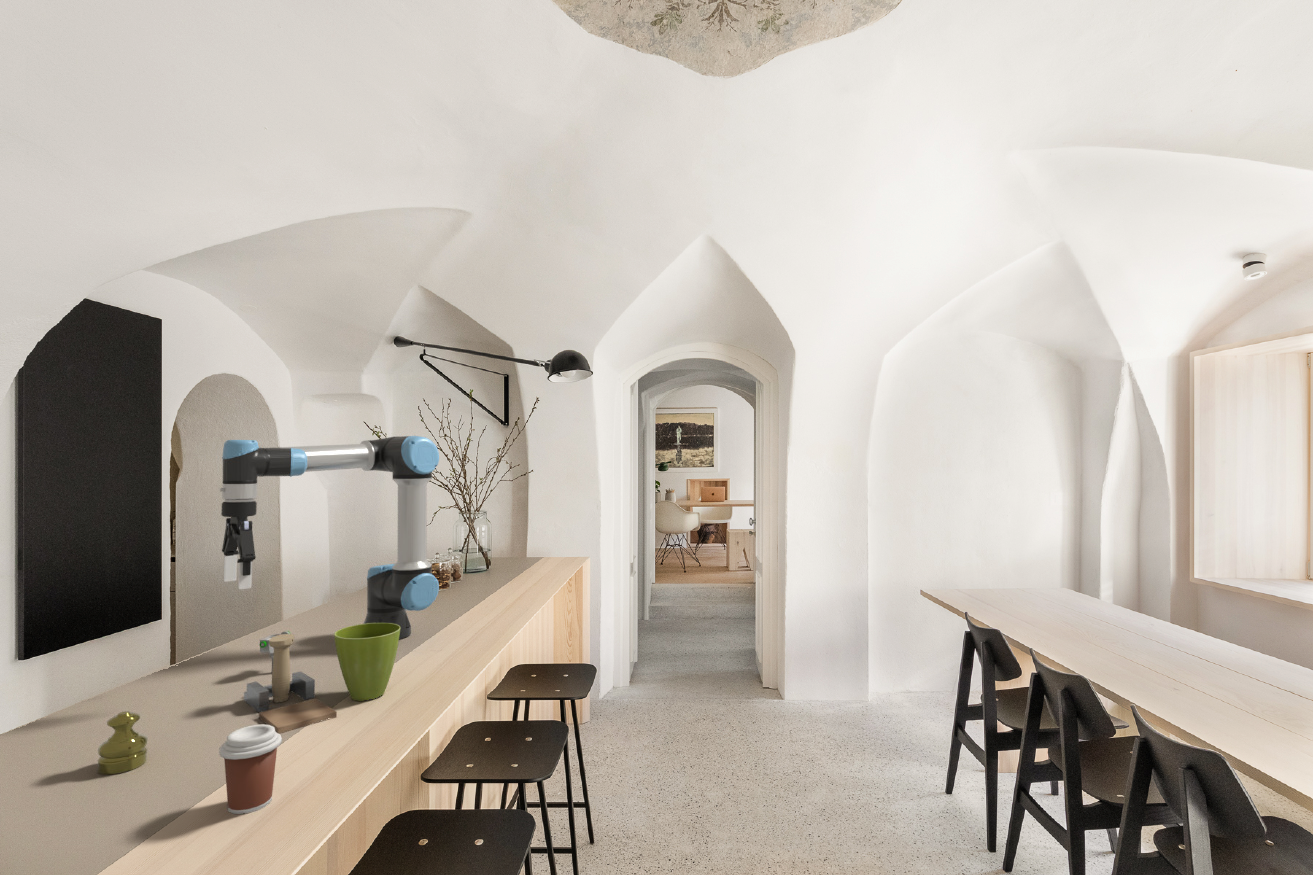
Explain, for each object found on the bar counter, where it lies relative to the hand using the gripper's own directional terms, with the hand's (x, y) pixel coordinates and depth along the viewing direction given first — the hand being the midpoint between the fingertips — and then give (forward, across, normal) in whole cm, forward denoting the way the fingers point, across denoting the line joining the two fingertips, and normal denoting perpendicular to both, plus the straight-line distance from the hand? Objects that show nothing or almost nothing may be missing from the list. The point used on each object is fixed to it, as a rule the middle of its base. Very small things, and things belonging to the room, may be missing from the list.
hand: (237, 584), depth 167 cm
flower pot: (+26, +28, +22) cm, 44 cm away
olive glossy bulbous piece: (+26, +32, -26) cm, 49 cm away
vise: (+26, +15, +6) cm, 30 cm away
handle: (+26, +17, +6) cm, 32 cm away
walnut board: (+26, +31, +5) cm, 41 cm away
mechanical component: (+26, -6, +11) cm, 29 cm away
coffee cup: (+26, +64, -13) cm, 71 cm away
